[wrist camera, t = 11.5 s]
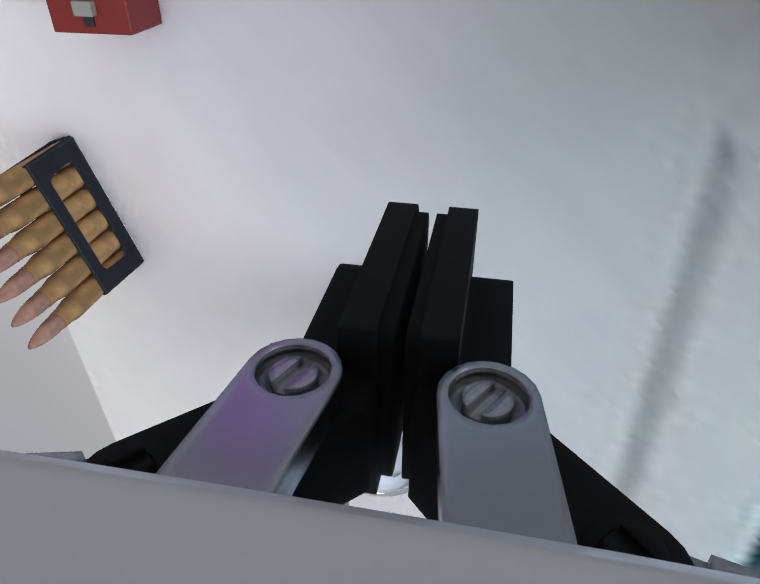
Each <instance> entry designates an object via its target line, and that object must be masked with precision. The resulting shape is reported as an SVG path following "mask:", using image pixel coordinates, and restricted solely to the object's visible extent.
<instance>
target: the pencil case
mask: <svg viewBox="0 0 760 584" xmlns="http://www.w3.org/2000/svg"><path fill="white" fill-rule="evenodd" d="M46 2H47V5H48V9H49V12H50V16H51V19H52V23H53V26H54V30H55V32H67V33H92V34H116V35H134V34H136V33H139V32H141V31H144V30H146V29H149V28H151V27H154V26H156V25H159V24H161V17H160V11H159V6H158V1H157V0H46Z"/></svg>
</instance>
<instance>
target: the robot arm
mask: <svg viewBox="0 0 760 584" xmlns="http://www.w3.org/2000/svg"><path fill="white" fill-rule="evenodd" d="M478 210H479V209H469V208H457V207H449V211H448V214H437V216H436V220H435V224H434V228H433V232H432V235H431V239H430V243H429V247H428V228H429V213H425V212H419V206H418V204H409V203H397V202H389V203H388V205H387V208H386V210H385V212H384V215H383V217H382V220H381V222H380V224H379V227H378V229H377V232H376V234H375V236H374V239H373V241H372V243H371V246H370V248H369V251H368V253H367V255H366V258H365V260H364V263H363V265H362V266H361V265H351V264H340V265H339V266H338V268H337V269H336V271H335V273H334V276H333V278H332V280H331V282H330V284H329V286H328V288H327V290H326V292H325V294H324V296H323V298H322V300H321V303H320V305H319V307H318V309H317V311H316V313H315V315H314V317H313V319H312V321H311V323H310V325H309V328H308V330H307V332H306V334H305V336H304V338H303V339H302V338H297V339H285V340H282V341H278V342H275V343H271V344H269V345H268V346H266V347H264V348H262V349H260V350H259V351H257V352H256V353H255V354H254V355H253V356H252V357H251V358H250V359H249V360H248V361H247V362H246V364H245V365H244V366H243V367H242V369H241V370H240V371H239V372H238V373H237V375H236V376H235V377H234V378H233V380H232V381H231V382H230V383H229V384H228V386H227V387H226V388H225V389H224V391H223V392H222V393H221V394H220V395H219V397H218V398H217V399H216V400H215V401H213V402H211V403H208V404H206V405H203V406H201V407H199V408H196V409H194V410H191V411H189V412H187V413H184V414H182V415H179V416H177V417H175V418H172V419H170V420H167V421H165V422H163V423H160V424H158V425H155V426H153V427H151V428H148V429H146V430H143V431H141V432H139V433H136V434H134V435H131V436H129V437H127V438H124V439H122V440H119V441H117V442H115V443H112V444H110V445H109V446H107V447H105V448H103V449H101V450H99V451H97V452H96V453H95V454H93V455H92V456H91V457H90V458H89V459H85V457H84V454H83V452H82V451H77V452H76V451H75V452H49V453H25V454H24V453H16V452H10V451H2V450H0V584H760V572H759V571H756V570H753V569H750V568H748V567H745V566H742V565H739V564H736V563H733V562H731V561H728V560H725V559H722V558H719V557H716V556H714V555H711V556H710V558H709V560H708V562H704V561H701V560H699V559H696V558H693V557H690V556H689V555H688V553H687V551H686V550H685V548H684V547H683V546H682V545H681V544H680V543H679V542H678V541H677V540H676V539H675V538H674V537H673V536H672V535H671V534H670V533H669V532H668V531H667V530H666V529H665V528H663V527H662V526H661V525H660V524H659V523H657V522H656V521H655V520H654V519H653V518H651V517H650V516H649V515H648V514H647V513H645V512H644V511H643V510H642V509H641V508H639V507H638V506H637V505H636V504H635V503H633V502H632V501H631V500H630V499H629V498H627V497H626V496H625V495H624V494H623V493H621V492H620V491H619V490H618V489H617V488H615V487H614V486H613V485H612V484H611V483H609V482H608V481H607V480H606V479H605V478H603V477H602V476H601V475H600V474H599V473H597V472H596V471H595V470H594V469H593V468H591V467H590V466H589V465H588V464H587V463H585V462H584V461H583V460H582V459H581V458H579V457H578V456H577V455H576V454H575V453H573V452H572V451H571V450H570V449H569V448H567V447H566V446H565V445H564V444H563V443H561V442H560V441H559V440H558V439H557V438H555V437H554V436H553V435H552V434H551V433H550V431H549V427H548V423H547V419H546V415H545V411H544V407H543V403H542V399H541V395H540V393H539V391H538V389H537V387H536V385H535V384H534V383H533V382H532V381H531V380H530V379H529V378H528V377H527V376H526V375H525V374H523V373H521V372H520V371H518V370H516V369H515V368H513V367H511V352H512V315H513V281H509V280H499V279H489V278H479V277H472V273H473V262H474V252H475V242H476V232H477V222H478ZM427 249H428V251H427ZM402 432H403V436H402ZM401 436H402V479H409V490H408V497H409V498H410V500H411V501H412V502H413V503H414V504H415V505H416V507H417V508H418V509H419V510H420V511H421V513H422V514H423V515H424V516H425V517H426V518H427V519H424V518H418V517H412V516H406V515H401V514H395V513H389V512H383V511H377V510H371V509H365V508H359V507H353V506H349V501H350V500H352V499H354V498H356V497H358V496H359V495H361V494H363V493H369V494H375V495H377V491H378V487H379V482H380V478H381V475H383V476H390V477H392V475H393V472H394V468H395V463H396V459H397V454H398V450H399V445H400V441H401Z"/></svg>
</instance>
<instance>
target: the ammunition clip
mask: <svg viewBox="0 0 760 584" xmlns="http://www.w3.org/2000/svg"><path fill="white" fill-rule="evenodd" d="M55 173H56V174H55ZM54 174H55V175H54ZM35 185H36V187H34V186H35ZM32 187H34V188H33V189H32ZM19 195H20V197H19V198H17V199H15V200H14V201H12V202H11V203H9V204H8V205H6V206H5V207H3V208H1V209H0V239H1V238H3V237H4V236H6V235H8V234H9V233H12V232H15V231H17V230H19V229H21V228H23V227H24V226H26V225H27V224H29V223H30V222H31V221H33V220H34V219H36V220H34V221H33V222H32V223H30V224H29V225H27V226H26V227H24V228H23V229H22V230H20V231H19V232H18V233H16V234H15V235H14V237H13V238H12V239H11V240H10V241H9V242H8V243H7V244H5V245H4V246H3V247H2V248H1V249H0V273H1V272H3V271H5V270H6V269H8V268H9V267H11V266H12V265H14V264H15V263H17V262H19V261H20V260H22V259H23V258H25V257H26V256H29V255H30V254H33V253H35V252H37V251H38V250H39V251H38V252H37V253H35V254H34V255H33V256H32V257H31V258H30V259H29V261H28V262H27V263H26V264H25V265H24V266H23V267H22V268H21V269H19V271H18V272H17V273H16V274H14V275H13V276H12V277H11V278H9V280H7V281H6V283H5V284H4V285H3V286H2V287H1V288H0V303H2V302H6V301H8V300H10V299H12V298H14V297H16V296H18V295H20V294H21V293H23V292H24V291H26V290H27V289H28V288H30V287H31V286H32V285H34V284H35V283H37V282H38V281H40V280H41V279H43V278H45V277H47V276H49V275H51V274H52V273H53V272H54V273H53V274H52V275H51V276H50V277H49V278H48V279H47V280H46V281H45V283H44V284H43V285H42V287H41V288H40V289H38V290H37V291H36V292H35V293H34V295H33V296H32V297H31V298H29V299H28V300H27V301H26V302H25V303H24V305H23V306H22V307H21V308H20V309H19V310H18V312H17V313H16V315H15V317H14V318H13V320H12V323H11V326H12V327H17V326H20V325H23V324H25V323H27V322H29V321H30V320H32V319H34V318H35V317H37V316H38V315H40V314H41V313H42V312H44V311H45V310H46V309H47V308H48V307H50V306H51V305H53V304H54V303H55V302H56V301H58V300H60V299H61V298H63V297H65V296H66V295H67V296H66V297H65V298H64V299H63V300H62V301H61V302H60V304H59V305H58V307H57V308H56V309H55V310H54V311H53V312H52V313H51V314H50V316H49V317H48V318H47V319H46V320H45V321H44V322H43V323H42V324H41V325H40V326H39V328H38V329H37V330H36V331H35V333H34V334H33V336H32V338H31V339H30V341H29V344H28V349H34V348H36V347H39V346H41V345H43V344H44V343H46V342H48V341H49V340H50V339H52V338H53V337H54V336H56V335H57V334H58V333H59V332H60V331H61V330H62V329H64V328H65V327H66V326H68V325H69V324H70V323H71V322H72V321H74V320H76V319H77V318H79V317H80V316H81V315H83V314H84V313H85V312H86V311H87V310H88V309H89V308H90V307H91V306H92V305H93V304H94V303H95V302H96V301H97V300H98V299H99V298H100V297H101V296H102V295H106V294H108V293H109V292H110V291H111V290H112V289H113V288H115V287H116V286H117V285H118V284H119V283H120V282H121V281H123V280H124V279H125V278H126V277H127V276H128V275H129V274H131V273H132V272H133V271H134V270H135V269H136V268H137V267H139V266H140V265H141V264H142V263H143V261H144V260H143V259H142V257H141V255H140V253H139V252H138V250H137V248H136V246H135V245H134V243H133V241H132V240H131V238H130V236H129V234H128V233H127V231H126V229H125V227H124V226H123V224H122V222H121V220H120V219H119V217H118V215H117V213H116V212H115V210H114V208H113V207H112V205H111V203H110V201H109V200H108V198H107V196H106V194H105V193H104V191H103V189H102V187H101V186H100V184H99V182H98V181H97V179H96V177H95V175H94V174H93V172H92V170H91V168H90V167H89V165H88V163H87V161H86V160H85V158H84V156H83V154H82V153H81V151H80V149H79V148H78V146H77V144H76V142H75V141H74V139H73V138H72V137H70V136H67V137H63V138H60V139H57V140H53V141H50V142H49V143H47V144H46V145H44V146H43V147H41V148H40V149H38V150H37V151H35V152H34V153H32V154H31V155H29V156H28V157H26V158H25V159H23V160H22V161H20V162H19V163H17V164H16V165H14V166H13V167H11V168H9V169H8V170H6V171H5V172H4V173H2V174H0V206H2V205H4V204H6V203H8V202H9V201H11V200H13V199H14V198H16V197H18V196H19ZM62 200H63V201H62ZM49 209H50V210H49ZM48 210H49V211H48ZM49 242H50V243H49ZM46 244H47V245H46ZM45 245H46V246H45ZM42 247H43V248H42ZM41 248H42V249H41ZM40 249H41V250H40ZM76 253H77V254H76ZM75 254H76V255H75ZM64 263H65V264H64ZM63 264H64V265H63ZM62 265H63V266H62ZM61 266H62V267H61ZM59 267H60V268H59ZM58 268H59V269H58ZM57 269H58V270H57ZM56 270H57V271H56ZM55 271H56V272H55ZM75 287H76V288H75ZM74 288H75V289H74ZM73 289H74V290H73Z"/></svg>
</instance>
